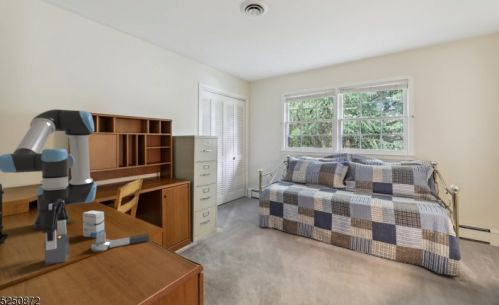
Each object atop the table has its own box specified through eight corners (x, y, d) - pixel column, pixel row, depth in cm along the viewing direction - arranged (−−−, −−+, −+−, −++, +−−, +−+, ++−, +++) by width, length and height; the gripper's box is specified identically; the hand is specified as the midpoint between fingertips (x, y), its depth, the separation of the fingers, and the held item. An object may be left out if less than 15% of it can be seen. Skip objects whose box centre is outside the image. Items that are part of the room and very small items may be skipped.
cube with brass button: (50, 258, 89) (49, 235, 88) (69, 254, 91) (68, 232, 91) (45, 265, 83) (44, 241, 83) (65, 261, 86) (64, 238, 86)
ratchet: (90, 253, 93) (90, 238, 92) (93, 246, 99) (92, 232, 99) (149, 242, 103) (148, 228, 103) (148, 236, 109) (148, 223, 109)
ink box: (105, 234, 112) (104, 211, 112) (95, 238, 108) (95, 214, 107) (92, 232, 115) (91, 209, 114) (82, 236, 110) (82, 212, 109)
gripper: (53, 184, 96) (54, 232, 96) (29, 195, 73) (31, 258, 74) (75, 182, 99) (76, 229, 100) (58, 193, 77) (60, 253, 78)
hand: (57, 242), depth 87 cm, fingers open, 13 cm apart
